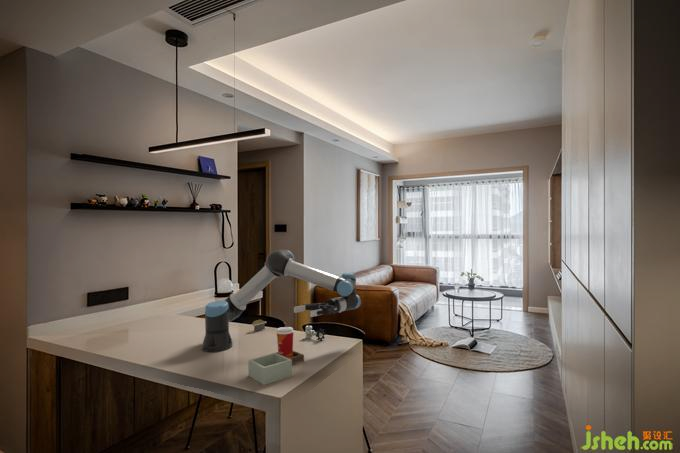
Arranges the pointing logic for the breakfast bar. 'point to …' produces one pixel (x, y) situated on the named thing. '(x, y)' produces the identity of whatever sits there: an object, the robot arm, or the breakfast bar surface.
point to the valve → (314, 333)
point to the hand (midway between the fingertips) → (302, 312)
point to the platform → (259, 325)
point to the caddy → (270, 368)
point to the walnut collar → (296, 357)
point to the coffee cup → (285, 341)
